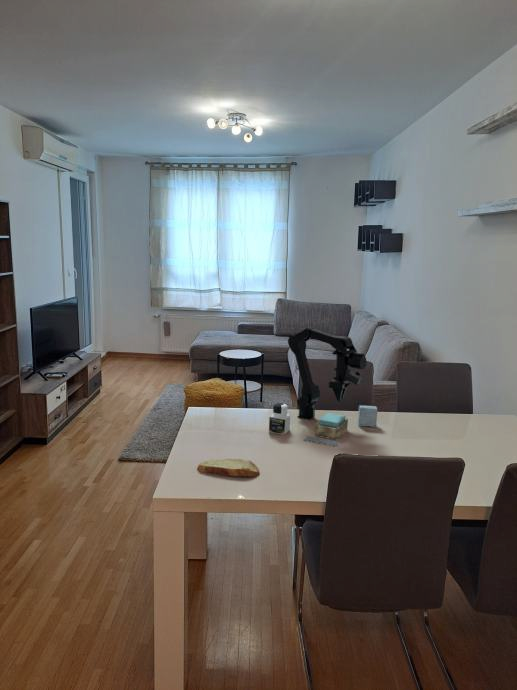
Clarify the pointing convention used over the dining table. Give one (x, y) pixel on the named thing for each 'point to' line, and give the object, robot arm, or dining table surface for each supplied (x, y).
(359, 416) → the medicine box
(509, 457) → the dining table surface
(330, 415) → the cover plate
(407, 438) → the dining table surface
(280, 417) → the medicine bottle
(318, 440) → the grey mat
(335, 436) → the wooden box
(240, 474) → the slice of bread
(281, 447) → the dining table surface
